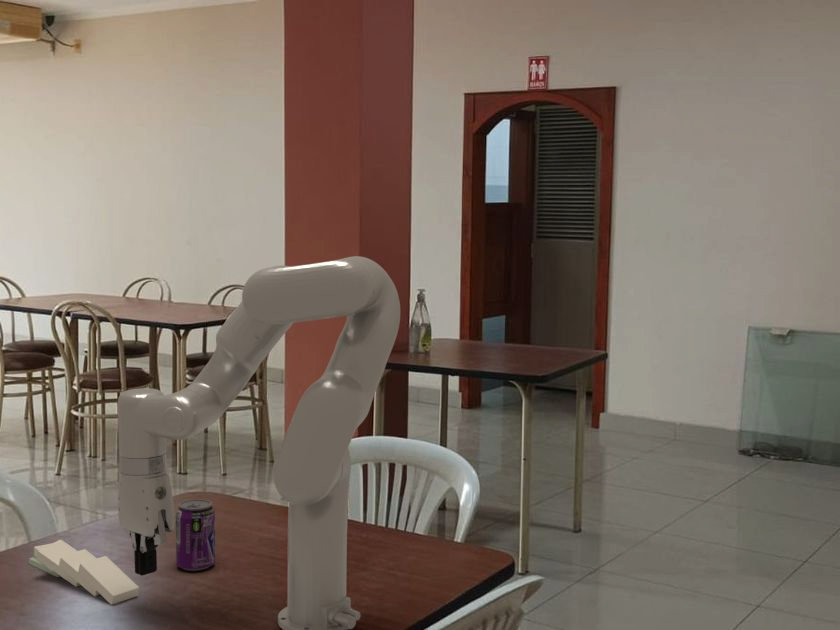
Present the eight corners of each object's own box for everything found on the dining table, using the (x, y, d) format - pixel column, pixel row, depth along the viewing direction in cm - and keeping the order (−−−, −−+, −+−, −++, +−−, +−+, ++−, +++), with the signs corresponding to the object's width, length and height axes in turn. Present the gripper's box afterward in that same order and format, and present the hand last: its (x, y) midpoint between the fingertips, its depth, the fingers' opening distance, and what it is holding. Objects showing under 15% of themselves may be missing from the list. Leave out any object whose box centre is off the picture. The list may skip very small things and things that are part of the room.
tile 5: (83, 564, 188) (54, 551, 195) (57, 571, 184) (29, 558, 191) (83, 574, 188) (55, 560, 195) (57, 581, 185) (29, 567, 191)
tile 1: (139, 587, 176) (105, 555, 181) (113, 596, 172) (80, 563, 177) (136, 596, 176) (103, 564, 182) (111, 604, 172) (78, 572, 178)
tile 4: (80, 556, 187) (61, 541, 195) (52, 562, 184) (33, 546, 192) (80, 566, 187) (61, 550, 195) (52, 572, 184) (34, 556, 192)
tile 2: (121, 578, 179) (84, 548, 184) (97, 587, 175) (60, 557, 180) (118, 586, 180) (82, 557, 185) (94, 596, 176) (58, 566, 180)
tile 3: (99, 566, 184) (60, 539, 187) (77, 578, 179) (37, 550, 183) (98, 574, 184) (59, 547, 188) (76, 587, 180) (36, 559, 184)
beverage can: (205, 574, 187) (205, 510, 186) (169, 571, 188) (169, 507, 187) (221, 561, 194) (220, 499, 193) (186, 558, 195) (185, 497, 194)
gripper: (189, 468, 166) (191, 577, 168) (137, 453, 176) (140, 556, 178) (149, 476, 161) (152, 590, 163) (98, 460, 171) (101, 567, 172)
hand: (145, 572), depth 170 cm, fingers closed
